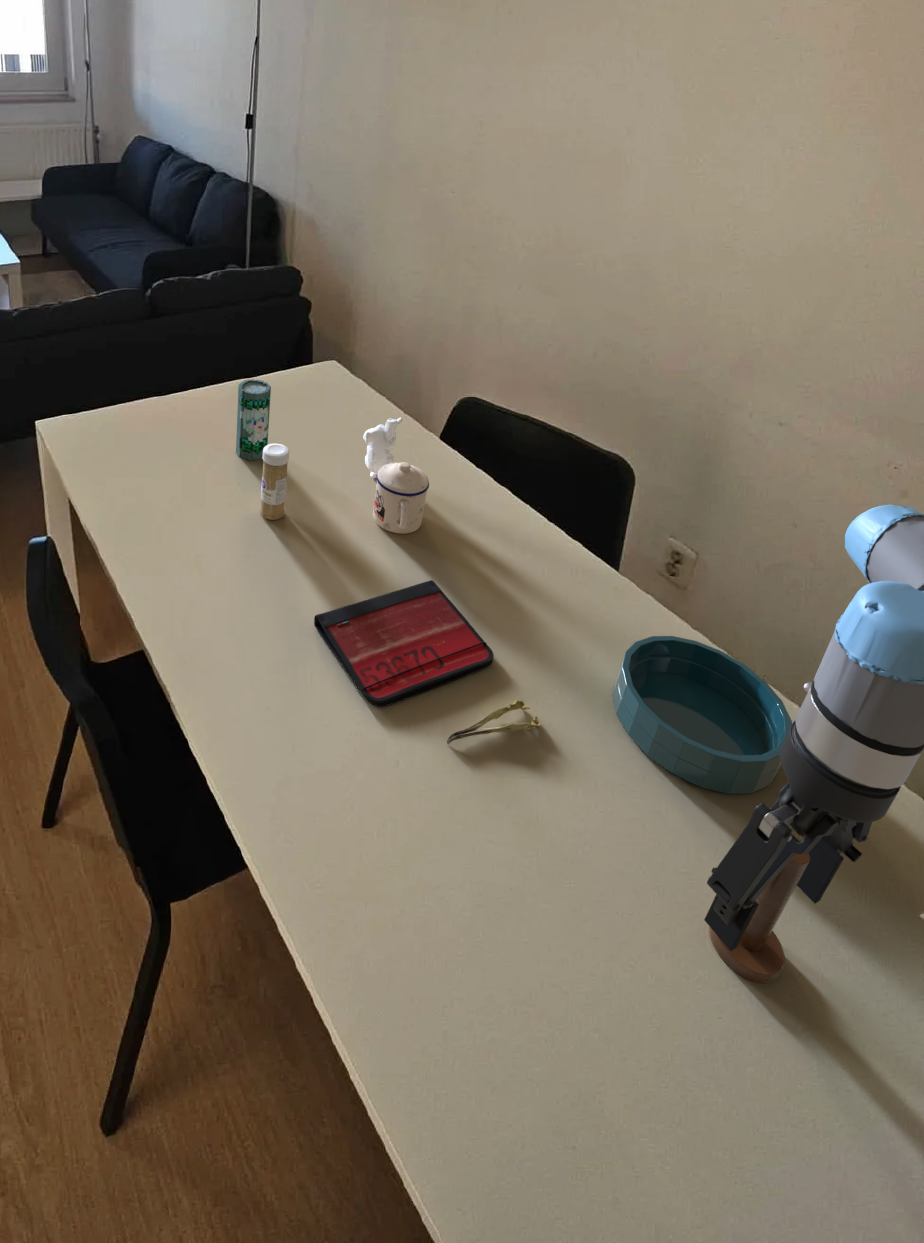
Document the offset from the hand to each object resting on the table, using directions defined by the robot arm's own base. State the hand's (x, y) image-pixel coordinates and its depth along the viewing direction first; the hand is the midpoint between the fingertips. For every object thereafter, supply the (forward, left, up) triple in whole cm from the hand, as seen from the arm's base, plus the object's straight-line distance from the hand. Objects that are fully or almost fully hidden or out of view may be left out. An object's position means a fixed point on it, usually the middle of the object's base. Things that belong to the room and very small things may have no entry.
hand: (762, 910), depth 71 cm
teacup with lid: (+68, -3, -6) cm, 68 cm away
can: (+98, +13, -6) cm, 99 cm away
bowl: (+20, -17, -6) cm, 27 cm away
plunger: (0, 0, -6) cm, 6 cm away
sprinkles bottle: (+78, +17, -6) cm, 80 cm away
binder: (+44, +11, -6) cm, 46 cm away
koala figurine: (+83, -8, -6) cm, 84 cm away
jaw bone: (+28, +8, -6) cm, 30 cm away
